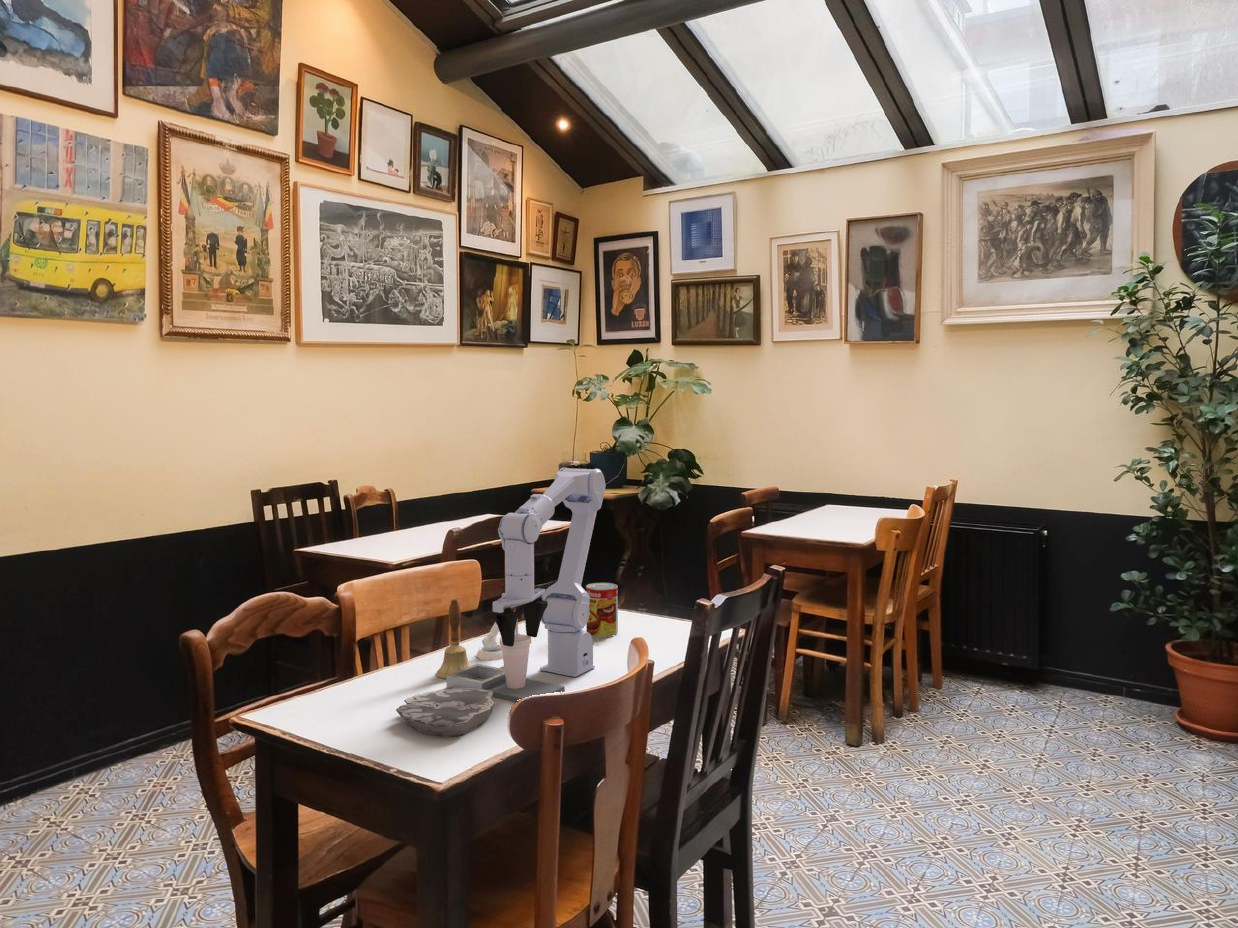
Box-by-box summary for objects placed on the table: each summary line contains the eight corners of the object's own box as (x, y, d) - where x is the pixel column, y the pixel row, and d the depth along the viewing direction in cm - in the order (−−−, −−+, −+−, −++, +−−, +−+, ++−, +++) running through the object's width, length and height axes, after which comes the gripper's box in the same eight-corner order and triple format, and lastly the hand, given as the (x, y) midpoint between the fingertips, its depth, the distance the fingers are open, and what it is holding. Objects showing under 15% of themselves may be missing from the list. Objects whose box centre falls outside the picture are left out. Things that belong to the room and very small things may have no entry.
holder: (521, 678, 182) (521, 666, 182) (482, 695, 172) (482, 683, 171) (486, 671, 187) (486, 659, 187) (446, 687, 177) (446, 675, 176)
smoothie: (509, 692, 170) (508, 622, 169) (494, 684, 176) (493, 615, 175) (537, 686, 174) (537, 617, 173) (522, 678, 179) (521, 611, 178)
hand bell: (428, 673, 186) (426, 600, 185) (459, 665, 192) (458, 593, 191) (451, 682, 180) (450, 606, 179) (483, 673, 186) (482, 599, 185)
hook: (515, 641, 192) (489, 623, 192) (492, 678, 197) (468, 659, 198) (529, 626, 198) (505, 608, 199) (507, 662, 203) (483, 644, 204)
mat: (564, 691, 174) (564, 686, 174) (534, 705, 166) (534, 700, 166) (521, 681, 180) (521, 677, 180) (489, 695, 172) (489, 690, 172)
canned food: (582, 630, 220) (581, 584, 219) (610, 627, 223) (610, 581, 223) (593, 638, 213) (592, 590, 212) (622, 635, 216) (622, 587, 215)
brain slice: (419, 700, 170) (418, 686, 169) (504, 704, 168) (504, 689, 168) (380, 739, 150) (380, 722, 150) (476, 743, 148) (476, 726, 148)
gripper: (525, 565, 180) (526, 629, 181) (480, 577, 168) (480, 646, 169) (553, 568, 177) (554, 634, 178) (508, 581, 164) (509, 652, 165)
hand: (520, 640), depth 173 cm, fingers open, 7 cm apart
